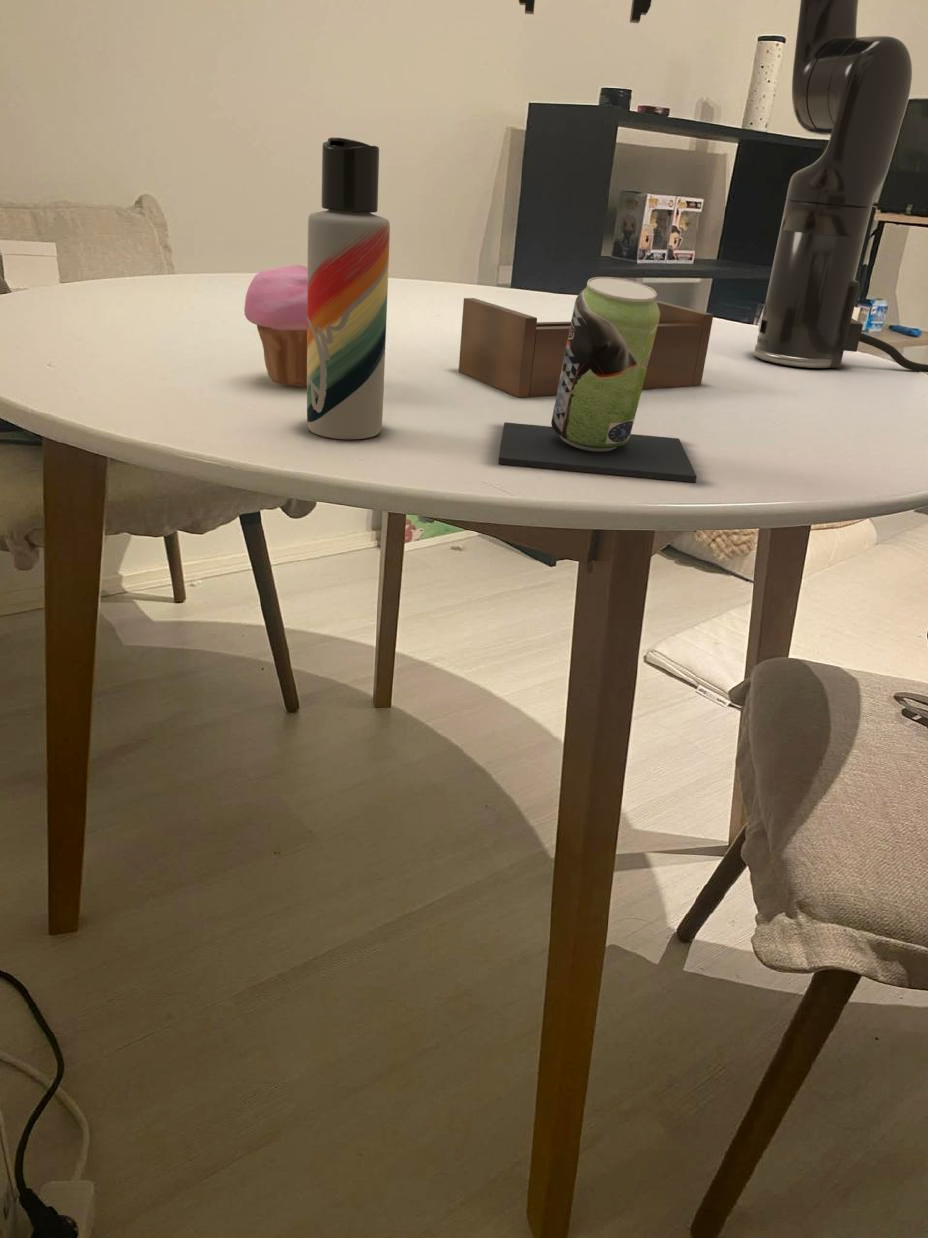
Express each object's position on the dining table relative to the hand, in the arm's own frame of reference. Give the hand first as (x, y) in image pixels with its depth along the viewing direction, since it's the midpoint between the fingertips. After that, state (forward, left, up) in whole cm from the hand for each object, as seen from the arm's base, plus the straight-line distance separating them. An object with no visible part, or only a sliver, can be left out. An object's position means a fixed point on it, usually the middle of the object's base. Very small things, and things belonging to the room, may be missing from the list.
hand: (582, 17), depth 79 cm
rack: (-4, -7, -30) cm, 31 cm away
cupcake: (+22, +6, -30) cm, 38 cm away
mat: (-4, +20, -30) cm, 36 cm away
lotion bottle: (+15, +20, -30) cm, 39 cm away
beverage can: (-4, +20, -30) cm, 36 cm away
